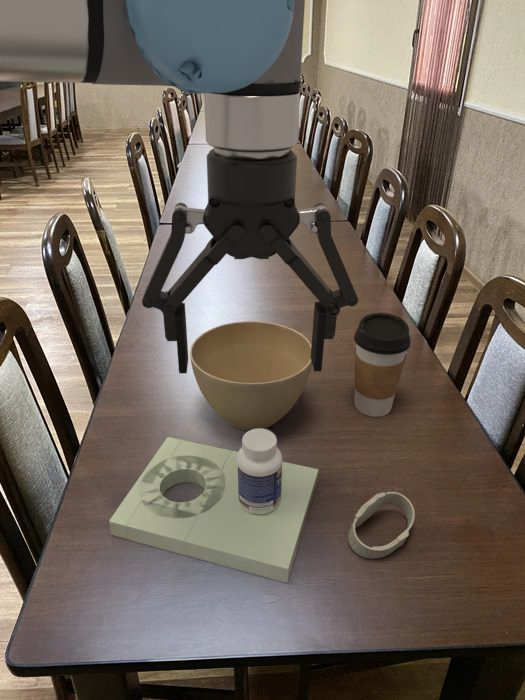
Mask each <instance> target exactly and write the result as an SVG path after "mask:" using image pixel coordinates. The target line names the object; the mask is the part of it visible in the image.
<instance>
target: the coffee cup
mask: <svg viewBox="0 0 525 700" xmlns="http://www.w3.org/2000/svg"><path fill="white" fill-rule="evenodd" d="M353 340H354V343H355V348H354V407H355V409H356V410H357V411H358V412H359V413H361V414H362V415H364V416H367V417H371V418H381V417H384V416H386V415H388V414H389V413H390V412H391V411H392V408H393V404H394V400H395V396H396V393H397V390H398V387H399V384H400V379H401V376H402V373H403V369H404V366H405V362H406V359H407V354H406V353H407V351H408V350H409V349H410V347H411V343H412V342H411V340H412V338H411V336H410V327H409V325H408V323H407V322H406V320H405V319H403V318H402V317H400V316H397V315H395V314H392V313H387V312H374V313H369V314H366V315H365V316H363V317H362V318H361V319H360V320H359V324H358V327H357V328H356V330H355V333H354V336H353Z"/></svg>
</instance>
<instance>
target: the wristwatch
mask: <svg viewBox="0 0 525 700" xmlns="http://www.w3.org/2000/svg"><path fill="white" fill-rule="evenodd" d="M384 505H392V506H394V507H397V508H399V509H400V510H401V511H402V512H403V513H404V515H405V517H406V520H407V524H406V525H407V526H406V529H405V530H404V531H403V532H402V533H400V534H399V535H398V536H397V537H396V538H395V539H394V540H392V541H391V542H390V543H387V544H384V545H382V546H374V545H373V546H372V547H371V546H368V545H366V544H364V543H363V542H362V541H361V539H360V538H359V537H358V535H357V532H356V528H359V527H360V526H362V525H363V524H364V523H365V522H366V521H367V520H368V519H369V518H371V516H373V514H375V512H376V511H377V510H378V509H379V508H380V507H381V506H384ZM415 513H416V512H415V508H414V506H413V503H412V502H411V501H410V499H409V498H407V497H406V496H405V495H404V494H402V493H400V492H397V491H387V492H384V491H382V492H379V493H376V494H375V495H373V496H372V497H371V498H370V499H368V500H367V501H366V502H365V503H364V504H363V505H362V506H361V507H360V508H359V509H358V511H357V512H356V513H355V515H354V517H353V520H352V522H351V524H350V526H349V527H350V529H349V532H348V535H347V536H348V537H347V541H348V544H349V546H350V548H351V549H352V551H354V553H356V554H357V555H358V556H360V557H362V558H365V559H371V560H376V559H381V558H384V557H386V556H388V555H390V554H391V553H393V552H394V551H396V550H397V549H399V548H400V547H402V546H403V545H404V543H405V542H406V540H407V538H408V537H409V535H410V532H409V531H410V530H411V528H412V527H413V524H414V522H415V516H416V515H415Z"/></svg>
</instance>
